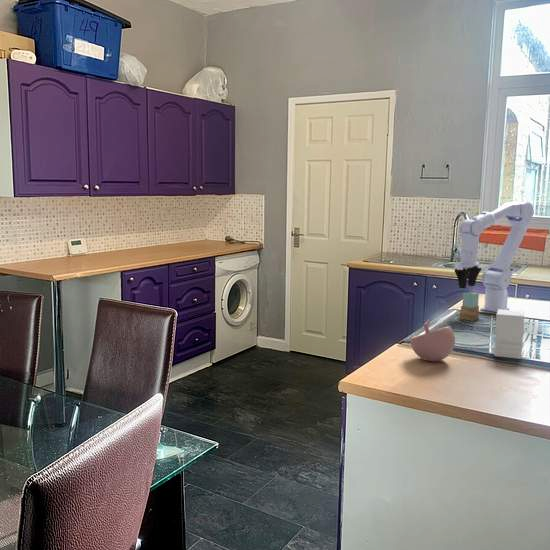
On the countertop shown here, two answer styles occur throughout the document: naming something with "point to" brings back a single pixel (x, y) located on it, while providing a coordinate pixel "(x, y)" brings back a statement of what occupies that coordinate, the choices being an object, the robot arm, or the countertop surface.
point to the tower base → (469, 316)
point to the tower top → (469, 310)
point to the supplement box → (509, 333)
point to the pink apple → (433, 343)
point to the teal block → (470, 299)
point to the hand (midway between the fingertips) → (466, 286)
